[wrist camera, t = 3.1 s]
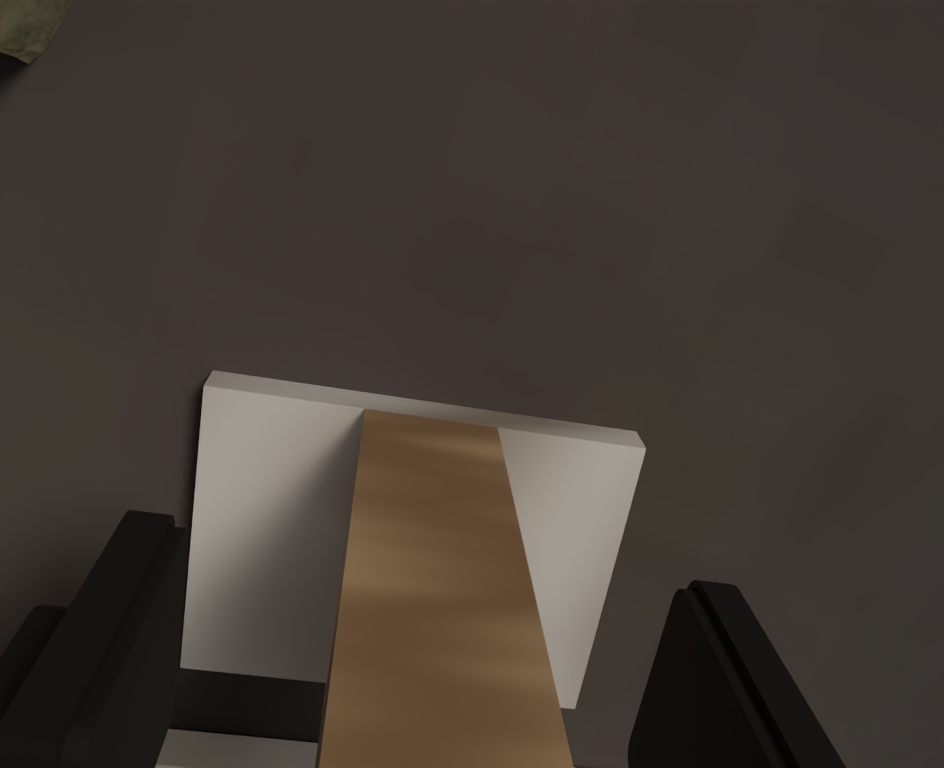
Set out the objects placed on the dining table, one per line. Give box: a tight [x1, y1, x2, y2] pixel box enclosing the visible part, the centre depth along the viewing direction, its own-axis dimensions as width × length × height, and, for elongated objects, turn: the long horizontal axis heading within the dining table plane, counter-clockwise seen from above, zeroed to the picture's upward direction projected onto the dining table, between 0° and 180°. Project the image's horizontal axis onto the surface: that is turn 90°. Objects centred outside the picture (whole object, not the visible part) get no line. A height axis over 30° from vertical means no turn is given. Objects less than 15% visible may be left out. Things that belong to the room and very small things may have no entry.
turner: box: [180, 371, 646, 768], centre depth 12 cm, size 8×6×12 cm
